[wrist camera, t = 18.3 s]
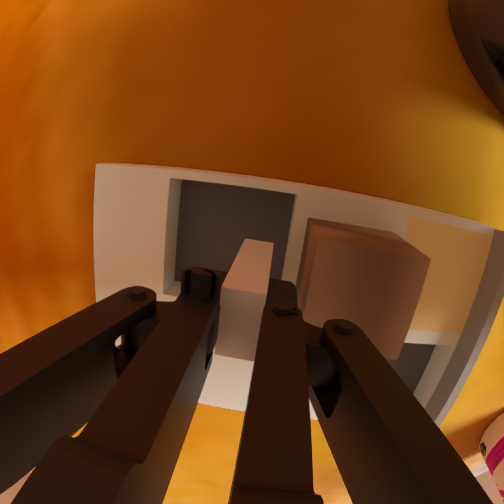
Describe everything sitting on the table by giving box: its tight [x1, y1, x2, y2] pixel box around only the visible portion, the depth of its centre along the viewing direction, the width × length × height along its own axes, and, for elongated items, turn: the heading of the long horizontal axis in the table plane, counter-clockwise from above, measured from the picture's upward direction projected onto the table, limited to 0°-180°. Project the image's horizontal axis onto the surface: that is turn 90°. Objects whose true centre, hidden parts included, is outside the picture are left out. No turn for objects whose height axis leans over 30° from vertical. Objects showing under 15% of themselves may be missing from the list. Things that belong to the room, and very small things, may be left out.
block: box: [295, 218, 431, 360], centre depth 15 cm, size 5×5×5 cm
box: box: [93, 163, 504, 428], centre depth 19 cm, size 26×16×4 cm, turn 82°
